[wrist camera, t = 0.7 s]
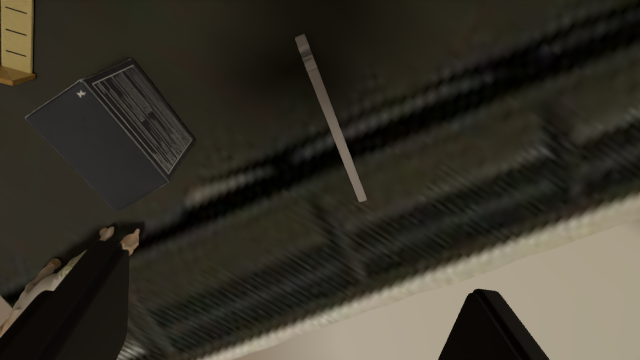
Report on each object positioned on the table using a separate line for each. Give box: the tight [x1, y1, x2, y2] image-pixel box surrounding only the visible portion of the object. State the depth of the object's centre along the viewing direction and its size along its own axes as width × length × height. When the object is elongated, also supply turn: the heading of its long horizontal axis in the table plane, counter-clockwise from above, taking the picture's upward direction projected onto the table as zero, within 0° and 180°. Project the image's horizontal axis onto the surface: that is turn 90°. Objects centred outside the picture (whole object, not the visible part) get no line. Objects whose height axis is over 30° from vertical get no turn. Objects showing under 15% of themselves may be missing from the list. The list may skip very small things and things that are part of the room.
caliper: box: [295, 34, 367, 202], centre depth 40 cm, size 20×1×6 cm, turn 21°
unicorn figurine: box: [0, 227, 140, 337], centre depth 42 cm, size 7×20×13 cm, turn 140°
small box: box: [25, 58, 196, 212], centre depth 36 cm, size 11×6×10 cm, turn 30°
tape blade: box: [0, 0, 36, 86], centre depth 34 cm, size 12×3×4 cm, turn 162°
